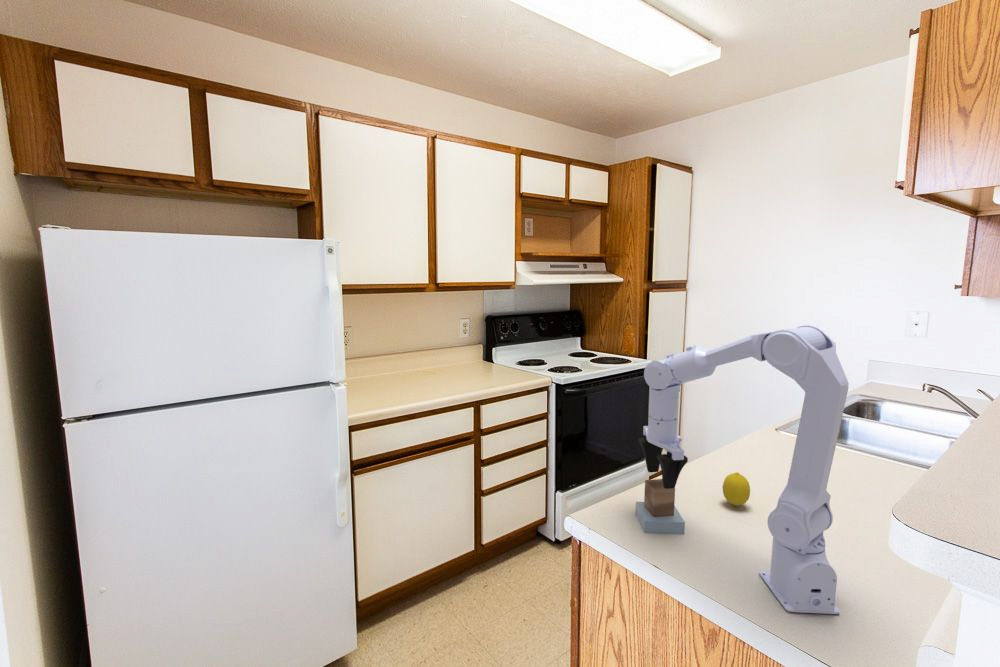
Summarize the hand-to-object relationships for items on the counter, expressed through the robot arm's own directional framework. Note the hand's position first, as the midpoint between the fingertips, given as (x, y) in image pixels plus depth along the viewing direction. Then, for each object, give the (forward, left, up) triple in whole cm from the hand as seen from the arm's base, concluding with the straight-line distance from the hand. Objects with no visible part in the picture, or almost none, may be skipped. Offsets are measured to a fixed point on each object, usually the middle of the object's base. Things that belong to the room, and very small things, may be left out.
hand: (660, 479), depth 97 cm
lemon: (+8, -19, -10) cm, 23 cm away
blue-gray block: (0, 0, -10) cm, 10 cm away
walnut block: (0, 0, -7) cm, 7 cm away
